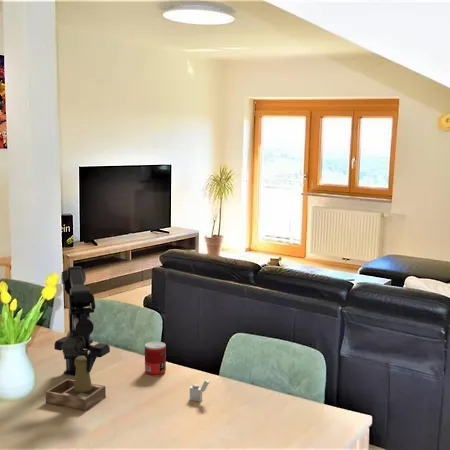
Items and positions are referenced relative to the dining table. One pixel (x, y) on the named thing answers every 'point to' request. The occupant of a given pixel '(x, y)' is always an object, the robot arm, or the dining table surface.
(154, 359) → the canned food
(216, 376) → the dining table surface
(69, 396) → the socket box
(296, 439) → the dining table surface
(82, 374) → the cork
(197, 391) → the lighter
